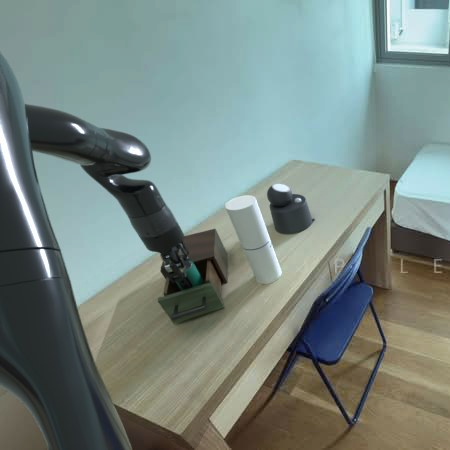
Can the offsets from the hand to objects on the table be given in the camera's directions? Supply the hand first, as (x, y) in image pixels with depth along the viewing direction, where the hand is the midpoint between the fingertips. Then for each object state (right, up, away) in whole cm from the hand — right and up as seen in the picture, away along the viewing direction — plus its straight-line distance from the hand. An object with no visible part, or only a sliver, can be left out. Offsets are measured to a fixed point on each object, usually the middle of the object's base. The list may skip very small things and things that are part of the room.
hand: (189, 280), depth 78 cm
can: (0, -2, +2) cm, 3 cm away
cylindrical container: (+15, -1, +12) cm, 20 cm away
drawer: (+1, -7, +3) cm, 7 cm away
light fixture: (+15, +15, +34) cm, 40 cm away
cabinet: (-5, -1, +14) cm, 15 cm away
